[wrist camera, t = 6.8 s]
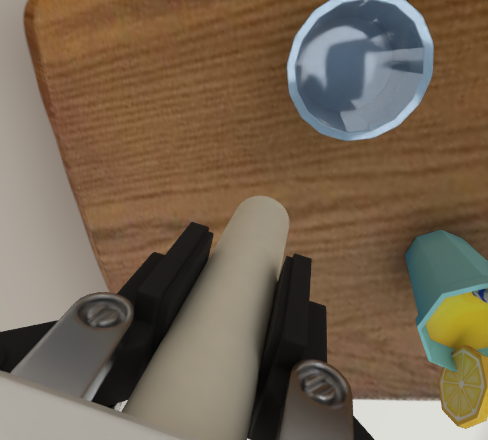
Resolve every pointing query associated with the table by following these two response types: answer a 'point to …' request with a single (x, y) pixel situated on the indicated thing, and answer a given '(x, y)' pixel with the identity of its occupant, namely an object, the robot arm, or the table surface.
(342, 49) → the tumbler
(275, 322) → the robot arm
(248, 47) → the table surface
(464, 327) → the cup
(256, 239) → the beige cylinder rod
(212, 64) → the table surface
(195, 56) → the table surface
